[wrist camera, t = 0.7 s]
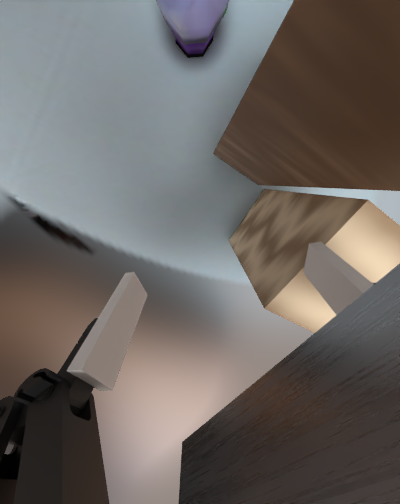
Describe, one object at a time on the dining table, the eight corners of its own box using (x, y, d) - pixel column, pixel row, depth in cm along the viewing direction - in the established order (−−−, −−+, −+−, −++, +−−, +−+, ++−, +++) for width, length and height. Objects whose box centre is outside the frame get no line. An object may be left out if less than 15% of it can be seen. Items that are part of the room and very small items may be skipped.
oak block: (264, 189, 30) (368, 199, 12) (299, 213, 32) (434, 254, 14) (228, 240, 34) (264, 308, 16) (261, 259, 36) (326, 338, 18)
